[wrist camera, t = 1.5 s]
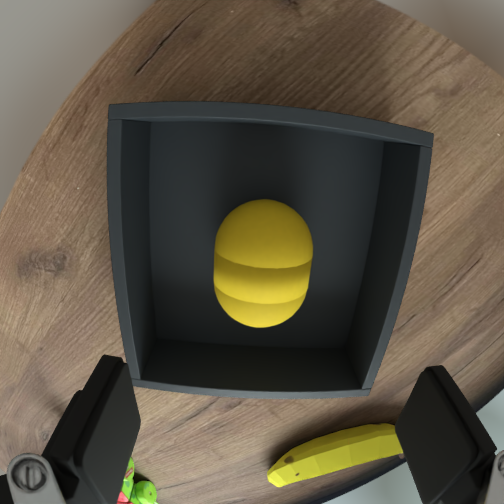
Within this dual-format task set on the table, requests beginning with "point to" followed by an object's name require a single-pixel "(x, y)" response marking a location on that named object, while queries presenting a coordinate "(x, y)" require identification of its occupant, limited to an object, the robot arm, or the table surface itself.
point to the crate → (229, 198)
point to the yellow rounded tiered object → (262, 262)
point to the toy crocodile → (136, 489)
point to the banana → (335, 453)
